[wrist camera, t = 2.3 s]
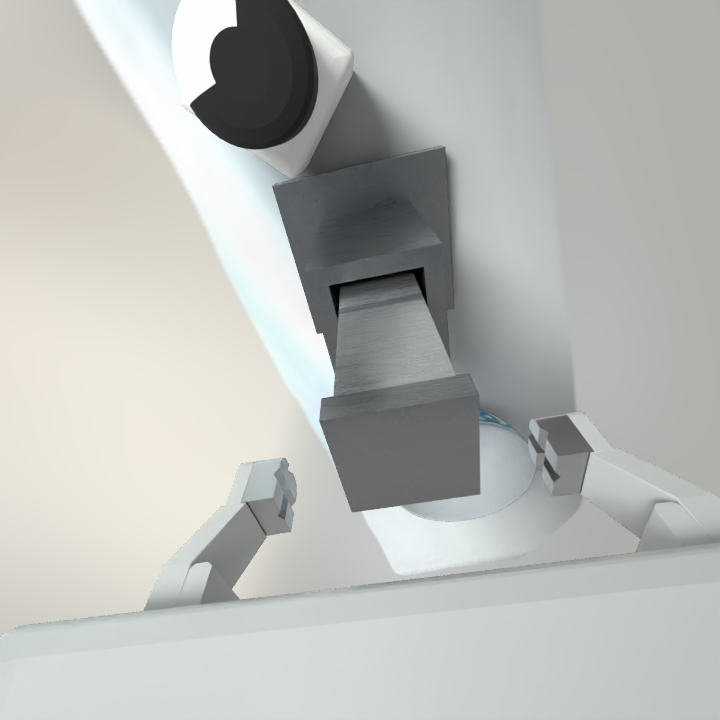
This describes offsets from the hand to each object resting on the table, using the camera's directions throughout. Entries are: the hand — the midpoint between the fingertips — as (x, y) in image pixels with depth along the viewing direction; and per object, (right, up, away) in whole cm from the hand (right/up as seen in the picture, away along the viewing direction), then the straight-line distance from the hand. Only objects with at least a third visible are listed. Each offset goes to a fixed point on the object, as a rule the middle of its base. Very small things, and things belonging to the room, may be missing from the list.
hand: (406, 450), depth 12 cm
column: (-1, +12, +18) cm, 22 cm away
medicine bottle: (-7, +22, +13) cm, 26 cm away
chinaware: (+9, -5, +31) cm, 33 cm away
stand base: (-1, +13, +19) cm, 23 cm away
